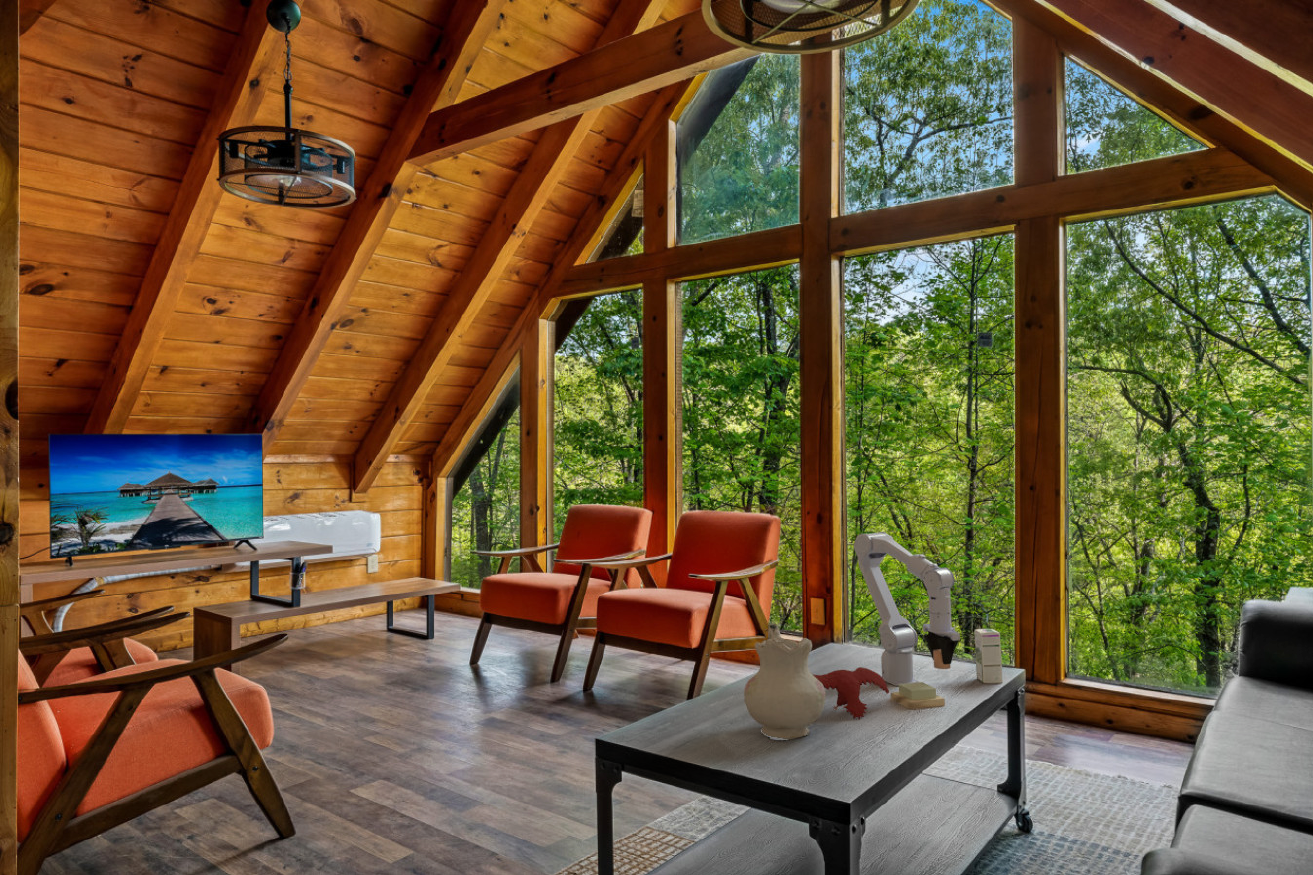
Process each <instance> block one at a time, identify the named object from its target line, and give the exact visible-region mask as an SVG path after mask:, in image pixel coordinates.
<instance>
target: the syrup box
mask: <svg viewBox="0 0 1313 875" xmlns="http://www.w3.org/2000/svg"><path fill="white" fill-rule="evenodd" d="M974 646H975V648H974V649H975V651H974V652H975V670H976V679H977V680H978V681H980V682H981V683H982V684H1002V683H1003V666H1002V665H1003V664H1002V662H1003V661H1002V649H1001V648H1002V646H1001V633H1000V632H999V631H997V630H996V629H993V628H978V629H974Z"/></svg>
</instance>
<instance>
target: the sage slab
mask: <svg viewBox="0 0 1313 875" xmlns="http://www.w3.org/2000/svg"><path fill="white" fill-rule="evenodd" d="M898 685H899V686H898V692H899V694H901V695H903V696H904V697H906V698H908V699H910V700H921V699H933V698H936V695H937V688H935V687H933V686H931V685H929V684H926V683H925V682H923V681H922V682H921V681H919V683H907V684H898Z"/></svg>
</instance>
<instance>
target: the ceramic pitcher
mask: <svg viewBox="0 0 1313 875" xmlns="http://www.w3.org/2000/svg"><path fill="white" fill-rule="evenodd" d="M754 648H755V651H756V653H757V655H758V657H759V663H760V664H759V669H758V671H757V672H756V674H754V675H753V676H752V677H751V678H750V679H748V680H747V681H746V683H745V686H744V689H743V690H744V691H743V692H744V693H743V694H744V696H743V697H744V700H743V701H744V703H745V707H746V709H747V712H748V714H750V717H751V718H752V719H753V720H754V721H755V722H756V723H757V724H759V725H761V726H762V728H761V729H762V732H763V733H764V734H766V735H768V736H771V737H777V738H783V739H790V740H793V739H797V738H802V737H807V736H808V735H809V734H810V732H811V731H810V729H809V728H808V727H809V726H811V725H812V724H814V722H816V721H817V720H818V719H819V718H820V716H821V715H822V713H823V710H824V707H825V704H826V703H825V702H826V688H824V687H823V684H822V683H821V682H820V681H819V680H818V679H817V678H815V677H814V676H813V675H814V674H813V675H812V672H811V671H810V669H809V664H808V663H809V657H810V653H811V651H812V648H813V643H812V640H811V639H808V638H806V637H803V638H802V639H801V640H799V641H798V642H797V641H795V640H793V639H792V640H791V639H787V638H783V637H782V635H781V632H780V628H779V625H778V624H776V623H775V622H768V631H767V639H765V640H763V641H762V642H758V641H757V642H755V644H754ZM807 734H808V735H807ZM806 735H807V736H806Z"/></svg>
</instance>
